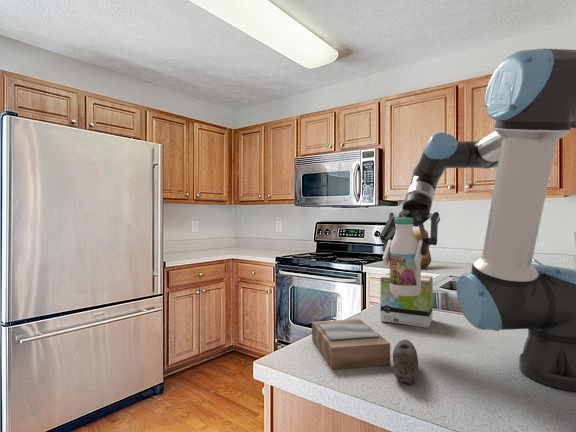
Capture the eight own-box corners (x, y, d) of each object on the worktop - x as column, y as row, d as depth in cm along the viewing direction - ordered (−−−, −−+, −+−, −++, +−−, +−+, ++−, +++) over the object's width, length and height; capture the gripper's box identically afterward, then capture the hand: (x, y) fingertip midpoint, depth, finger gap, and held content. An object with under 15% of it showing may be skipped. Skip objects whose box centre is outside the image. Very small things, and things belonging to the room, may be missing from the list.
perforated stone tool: (395, 359, 87) (394, 330, 87) (418, 361, 85) (417, 332, 85) (390, 387, 73) (390, 352, 73) (418, 391, 71) (418, 355, 71)
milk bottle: (399, 289, 100) (397, 217, 100) (426, 293, 94) (424, 217, 94) (384, 294, 95) (383, 218, 95) (412, 298, 89) (410, 217, 89)
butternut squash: (404, 268, 228) (403, 229, 228) (415, 266, 237) (415, 228, 237) (424, 271, 217) (424, 229, 217) (435, 268, 226) (435, 228, 226)
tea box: (380, 322, 116) (379, 276, 116) (386, 314, 125) (386, 272, 125) (429, 328, 109) (429, 280, 109) (433, 320, 118) (432, 275, 118)
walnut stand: (390, 364, 83) (390, 341, 83) (331, 369, 81) (331, 345, 81) (359, 336, 103) (359, 317, 103) (312, 339, 101) (311, 320, 101)
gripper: (458, 209, 101) (445, 275, 88) (388, 210, 113) (367, 268, 100) (454, 189, 97) (439, 255, 83) (381, 193, 109) (359, 251, 95)
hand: (400, 262), depth 92 cm, fingers closed on milk bottle, 7 cm apart
